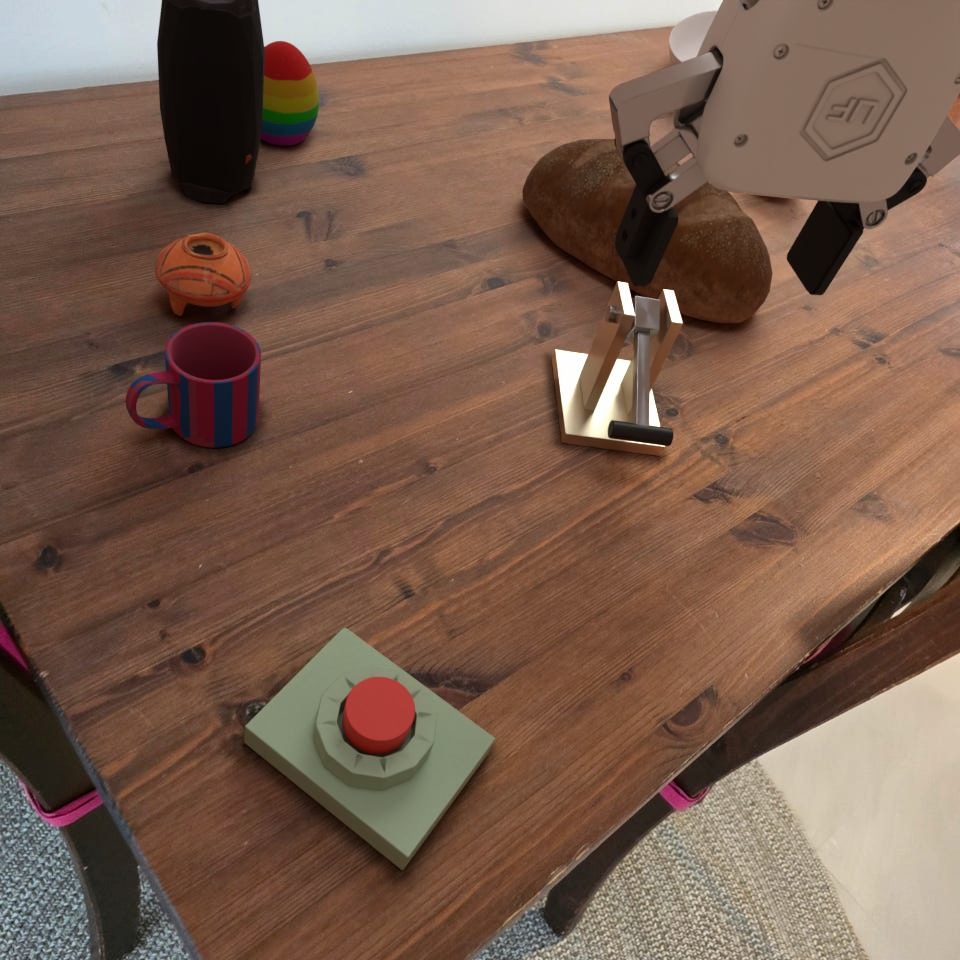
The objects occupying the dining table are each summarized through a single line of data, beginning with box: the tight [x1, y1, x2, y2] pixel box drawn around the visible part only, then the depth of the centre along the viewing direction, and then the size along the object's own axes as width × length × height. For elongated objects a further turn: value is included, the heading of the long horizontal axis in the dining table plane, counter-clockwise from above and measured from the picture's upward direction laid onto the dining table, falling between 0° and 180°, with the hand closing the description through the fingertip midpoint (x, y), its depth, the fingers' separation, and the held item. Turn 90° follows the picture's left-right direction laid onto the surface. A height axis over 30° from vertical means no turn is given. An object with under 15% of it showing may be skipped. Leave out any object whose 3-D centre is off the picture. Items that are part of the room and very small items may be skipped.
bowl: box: [668, 10, 718, 66], centre depth 134 cm, size 30×15×6 cm, turn 150°
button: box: [342, 677, 415, 754], centre depth 51 cm, size 4×4×2 cm
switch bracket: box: [551, 281, 684, 457], centre depth 76 cm, size 11×9×12 cm
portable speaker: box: [156, 0, 265, 204], centre depth 83 cm, size 9×9×20 cm
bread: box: [522, 138, 773, 324], centre depth 94 cm, size 16×29×11 cm, turn 55°
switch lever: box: [608, 295, 674, 447], centre depth 72 cm, size 12×5×2 cm, turn 1°
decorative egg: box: [260, 40, 320, 147], centre depth 96 cm, size 8×8×10 cm
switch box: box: [243, 626, 496, 871], centre depth 53 cm, size 12×9×4 cm
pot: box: [154, 232, 252, 316], centre depth 76 cm, size 8×8×7 cm
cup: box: [125, 321, 262, 449], centre depth 66 cm, size 7×10×7 cm
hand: (719, 273), depth 44 cm, fingers open, 9 cm apart
